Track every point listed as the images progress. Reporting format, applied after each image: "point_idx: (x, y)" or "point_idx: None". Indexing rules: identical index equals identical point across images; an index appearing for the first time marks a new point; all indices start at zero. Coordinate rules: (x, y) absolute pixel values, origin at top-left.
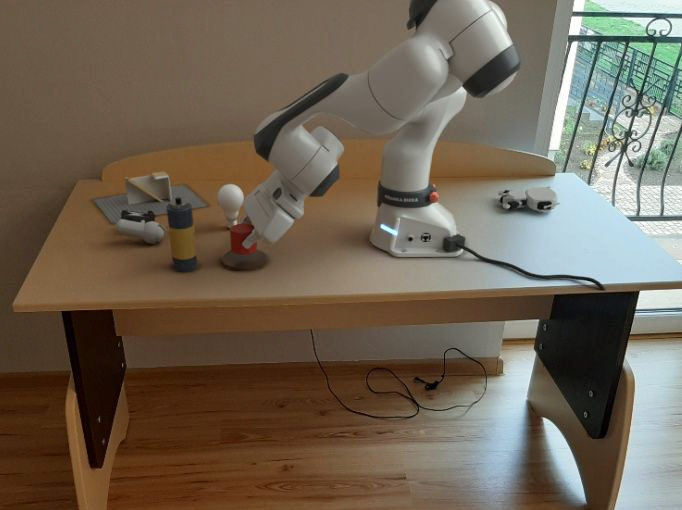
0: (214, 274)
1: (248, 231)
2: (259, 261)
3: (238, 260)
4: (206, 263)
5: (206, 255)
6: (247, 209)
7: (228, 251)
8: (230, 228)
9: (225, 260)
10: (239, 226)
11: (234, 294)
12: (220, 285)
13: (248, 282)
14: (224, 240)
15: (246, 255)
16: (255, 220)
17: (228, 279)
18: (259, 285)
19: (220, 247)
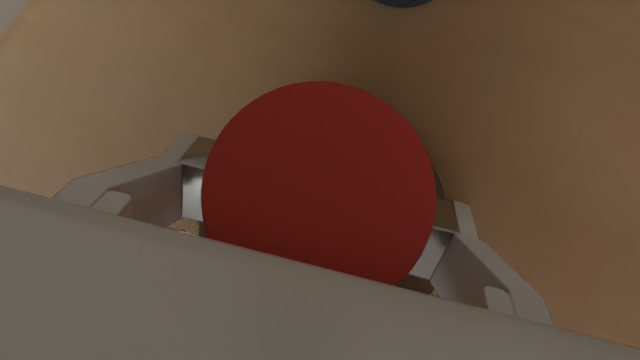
0: (263, 37)
1: (218, 201)
2: None
3: None
4: (389, 50)
5: (473, 83)
6: (541, 349)
7: (436, 178)
8: (367, 95)
9: None
10: (371, 182)
11: (39, 36)
12: (150, 19)
13: (102, 138)
14: (613, 238)
15: None
16: (95, 249)
17: (183, 71)
18: (44, 171)
19: (535, 181)
